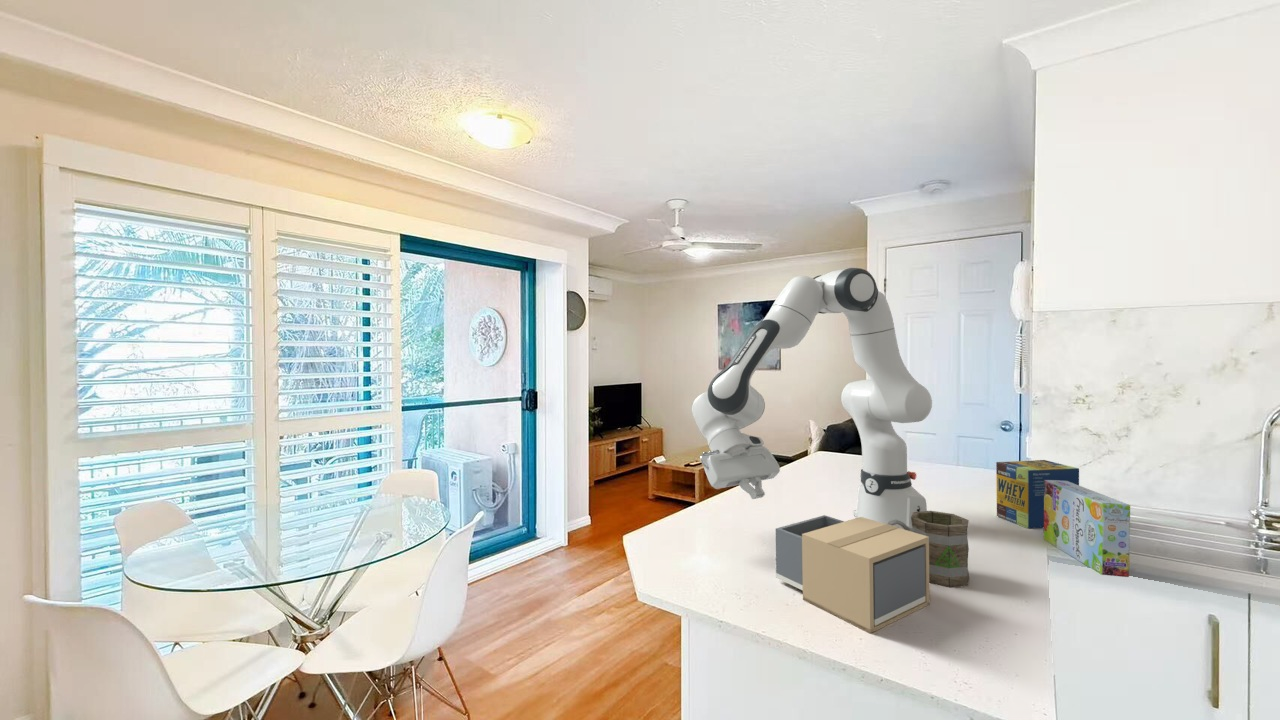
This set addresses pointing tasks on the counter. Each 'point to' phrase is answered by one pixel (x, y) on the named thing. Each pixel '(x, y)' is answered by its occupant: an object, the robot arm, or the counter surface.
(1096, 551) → the snack box
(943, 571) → the mug
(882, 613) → the mailer tray
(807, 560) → the mailer sleeve
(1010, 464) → the protein box
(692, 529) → the counter surface
